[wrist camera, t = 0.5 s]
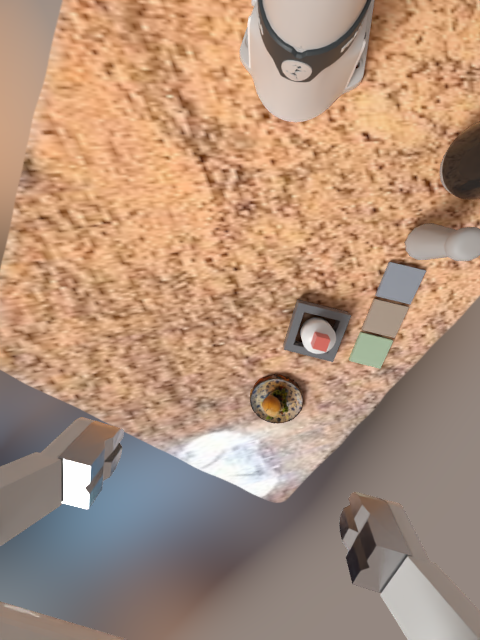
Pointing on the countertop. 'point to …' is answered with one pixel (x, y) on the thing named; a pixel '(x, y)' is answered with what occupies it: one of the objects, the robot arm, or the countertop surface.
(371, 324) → the track
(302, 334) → the dome
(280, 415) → the bowl of food
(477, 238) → the salt shaker
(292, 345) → the button housing
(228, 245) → the countertop surface
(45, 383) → the countertop surface
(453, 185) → the dark grey egg device
